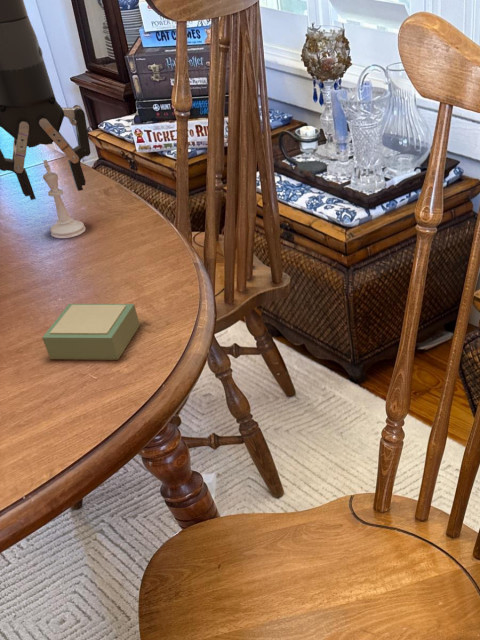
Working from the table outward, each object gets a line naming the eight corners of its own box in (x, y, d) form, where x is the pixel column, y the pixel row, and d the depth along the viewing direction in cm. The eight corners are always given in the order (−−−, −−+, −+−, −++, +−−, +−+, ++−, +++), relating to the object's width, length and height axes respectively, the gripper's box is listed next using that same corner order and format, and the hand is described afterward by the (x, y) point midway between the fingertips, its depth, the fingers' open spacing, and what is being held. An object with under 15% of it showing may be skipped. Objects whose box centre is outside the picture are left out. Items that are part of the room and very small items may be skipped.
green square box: (50, 359, 89) (41, 335, 87) (76, 324, 95) (68, 301, 93) (118, 360, 88) (110, 336, 86) (140, 325, 94) (133, 302, 92)
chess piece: (56, 241, 113) (31, 169, 107) (47, 230, 116) (23, 159, 110) (89, 233, 115) (67, 161, 108) (80, 222, 118) (58, 152, 111)
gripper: (65, 46, 105) (102, 176, 117) (-49, 62, 101) (1, 195, 112) (73, 57, 100) (111, 192, 112) (-46, 74, 96) (6, 212, 107)
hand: (56, 193), depth 112 cm, fingers open, 6 cm apart
